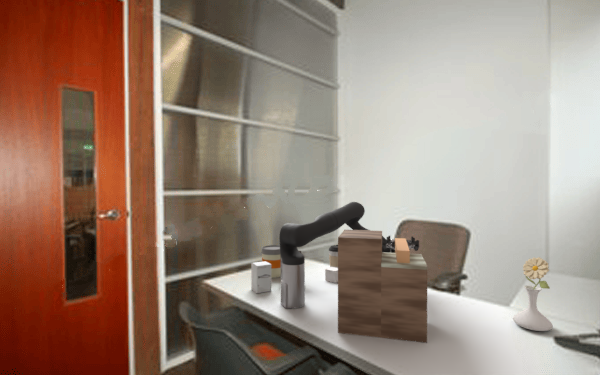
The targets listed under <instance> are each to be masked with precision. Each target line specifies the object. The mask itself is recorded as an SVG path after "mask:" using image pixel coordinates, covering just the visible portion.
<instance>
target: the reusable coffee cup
mask: <svg viewBox="0 0 600 375" xmlns="http://www.w3.org/2000/svg"><path fill="white" fill-rule="evenodd" d="M261 254H262V256H261V262H264V261H266V262H268V263H270V264H271V279H272V278H273V279H274V278H281V257H280V244H279V245H278V244H277V245H276V244H273V245H272V244H270V245H264V246H261Z"/></svg>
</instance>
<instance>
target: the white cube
mask: <svg viewBox="0 0 600 375" xmlns="http://www.w3.org/2000/svg"><path fill="white" fill-rule="evenodd" d="M324 270H325V271H324V273H325V274H324V275H325V276H324V279H325V280H326V282H329V281H330V282H329V283H333V282H335V283H334V284H336V283H338V268H335V267H330V266H329V267H328V268H325V269H324ZM325 280H324V281H325Z"/></svg>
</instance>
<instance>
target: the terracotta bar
mask: <svg viewBox="0 0 600 375" xmlns="http://www.w3.org/2000/svg"><path fill="white" fill-rule="evenodd" d="M394 240H395V252H396V260H397V263H410V254H411V252H410V250H411V249H410V250H409V247H408V244H407V241H406V240H407V238H404V237H401V238H400V237H395V238H394Z"/></svg>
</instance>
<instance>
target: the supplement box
mask: <svg viewBox="0 0 600 375" xmlns="http://www.w3.org/2000/svg"><path fill="white" fill-rule="evenodd" d="M250 267H251V278H250V279H251V281H250V283H251V290H252V291H253V292H254V293H255V294H260V293H266V292H272V278H271V264H270V263H268V262H266V261H264V262H262V261H259V262H258V261H256V262H251V266H250Z"/></svg>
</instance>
